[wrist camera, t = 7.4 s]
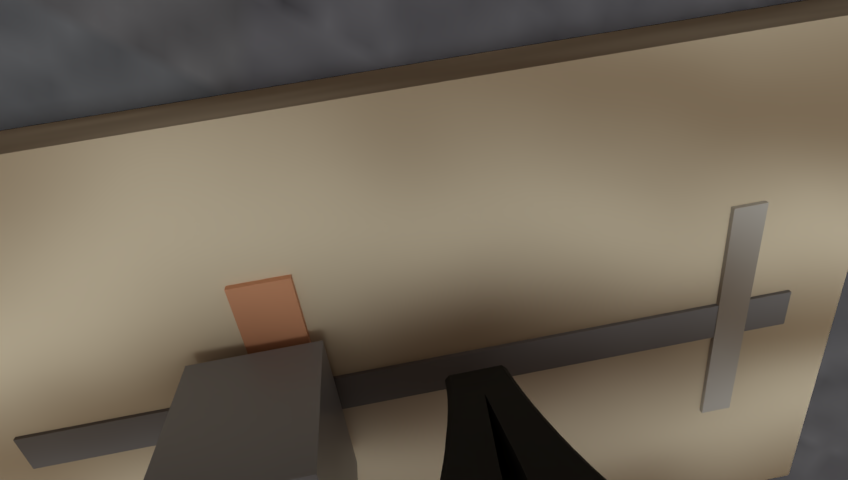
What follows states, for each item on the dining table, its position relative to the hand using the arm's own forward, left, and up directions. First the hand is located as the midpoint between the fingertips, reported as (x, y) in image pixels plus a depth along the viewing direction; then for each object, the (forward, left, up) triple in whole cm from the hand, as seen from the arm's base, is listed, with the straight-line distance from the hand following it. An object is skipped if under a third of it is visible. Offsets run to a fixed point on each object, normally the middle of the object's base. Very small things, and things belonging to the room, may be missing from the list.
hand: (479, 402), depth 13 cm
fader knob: (0, +5, -1) cm, 5 cm away
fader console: (0, +2, -3) cm, 4 cm away
